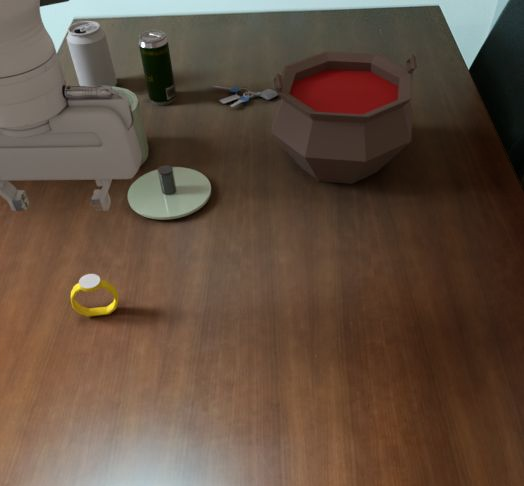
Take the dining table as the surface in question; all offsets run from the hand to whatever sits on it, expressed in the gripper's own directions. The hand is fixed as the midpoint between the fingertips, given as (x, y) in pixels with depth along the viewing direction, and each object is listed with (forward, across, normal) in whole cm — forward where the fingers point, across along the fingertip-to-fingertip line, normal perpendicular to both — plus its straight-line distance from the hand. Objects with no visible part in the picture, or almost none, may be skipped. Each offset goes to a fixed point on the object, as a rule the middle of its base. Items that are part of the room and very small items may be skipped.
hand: (62, 207), depth 66 cm
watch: (+18, 0, 0) cm, 18 cm away
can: (+18, +14, -63) cm, 67 cm away
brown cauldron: (+18, -34, -36) cm, 52 cm away
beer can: (+18, 0, -58) cm, 61 cm away
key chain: (+18, -16, -57) cm, 62 cm away
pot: (+17, +6, -38) cm, 42 cm away
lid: (+17, -6, -26) cm, 32 cm away
